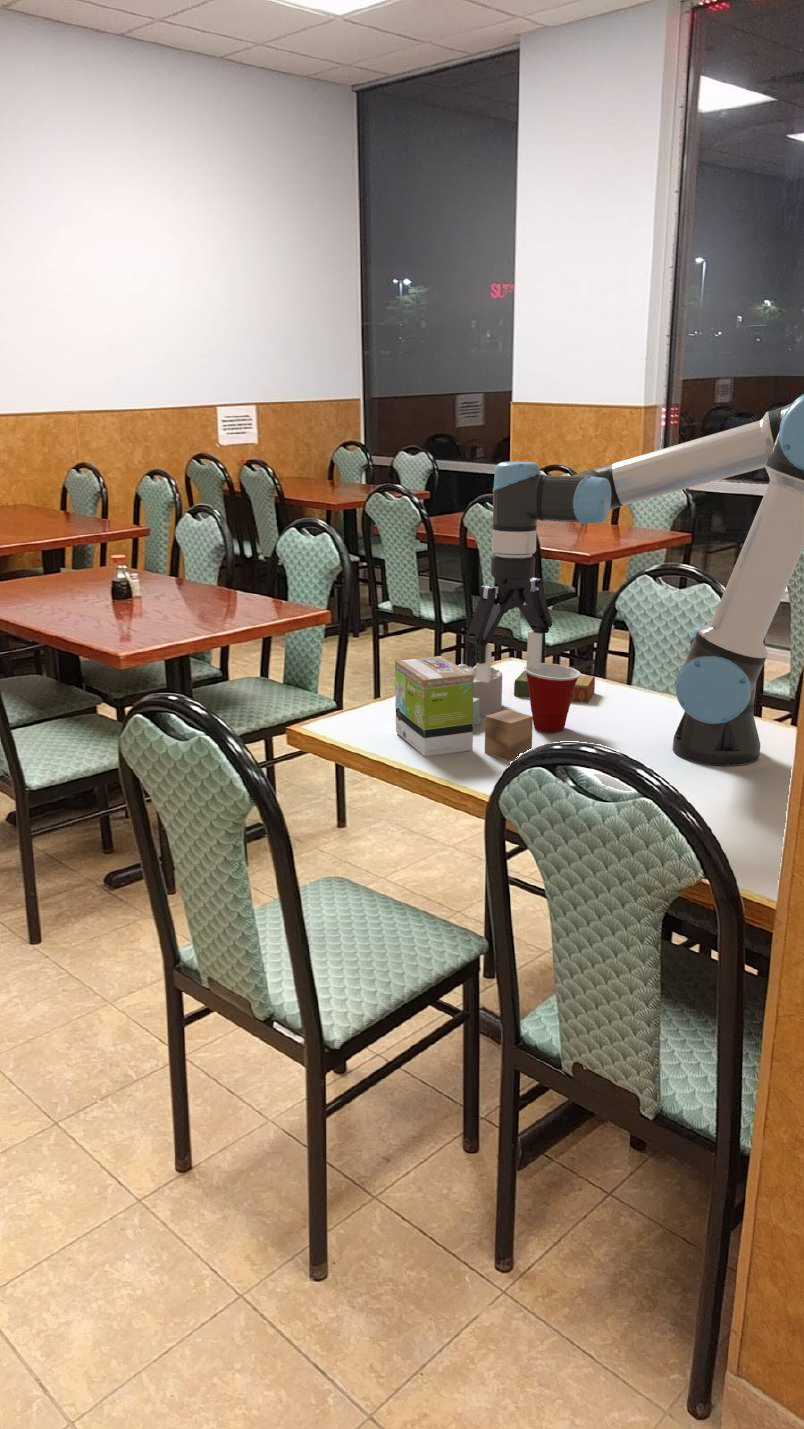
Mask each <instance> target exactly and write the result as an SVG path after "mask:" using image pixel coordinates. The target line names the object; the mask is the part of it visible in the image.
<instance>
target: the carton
mask: <svg viewBox="0 0 804 1429" xmlns="http://www.w3.org/2000/svg"><path fill="white" fill-rule="evenodd" d="M595 686H596V677H595V676H593V675H582V674H581V675H580V677H579V678H578V679H577V682H576V684H575V687H574V690H573V694H572V698H571V702H576V703H587V704H588V702H590V700H591V699H592V697H593V696H594V694H595V690H596V688H595ZM513 695H514V697H519V698H529V699H530V696H529V688H528V682H527V675H526V672H525V670H523V671H522V672H521V673H520V675H519V676H518V677H516V678H515V680H514V684H513Z"/></svg>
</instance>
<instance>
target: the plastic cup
mask: <svg viewBox="0 0 804 1429" xmlns="http://www.w3.org/2000/svg"><path fill="white" fill-rule="evenodd" d="M523 669H524V670H523V671H525V672H526V675H527V682H528V688H529V696H530V698H529V704H530V711H531V716H533V728H534V729H535V730H536V731H538V732H541V733H547V734H548V733H550V734H551V733H553V734H554V733H559V732H562V731H564V729H565V726H566V722H567V717H568V713H569V711H570V706H571V702H572V701H571V698H572V694H573V690H574V687H575V684H576V682H577V679H578V678H579V677H580V675H582V673H581V672H580V671H579V670H578V669H575V668H574V667H570V666H566V665H561V664H558V663H544V662H541V669H534V668H530V667H527V664H526V665H525V666H524V667H523Z"/></svg>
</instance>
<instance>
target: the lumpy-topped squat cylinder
mask: <svg viewBox="0 0 804 1429" xmlns="http://www.w3.org/2000/svg"><path fill="white" fill-rule="evenodd" d="M456 665H457V664H456ZM457 666H459V667H461V668H462V669H464V670H466V671H468V672H469V673H471V674H473V698H478V699H480V710H479V717H480V716H487V715H491V714H494V713H497V712H499V711H500V710H501V709H502V702H503V695H502V694H503V672H502V671H501V670H499V669H495V668H494V667H492V666H491V678H490V682H488V683H486V682H483V681H479V680H476V665H474V666H473V667H472V666H468V665H467V664H464V663H460V664H458V665H457ZM496 711H497V712H496Z"/></svg>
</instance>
